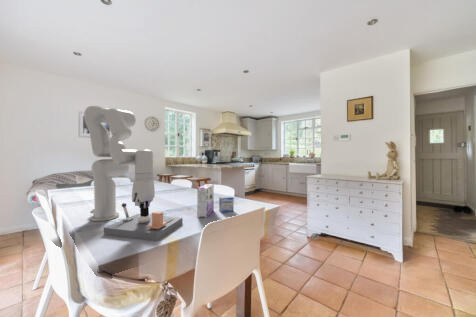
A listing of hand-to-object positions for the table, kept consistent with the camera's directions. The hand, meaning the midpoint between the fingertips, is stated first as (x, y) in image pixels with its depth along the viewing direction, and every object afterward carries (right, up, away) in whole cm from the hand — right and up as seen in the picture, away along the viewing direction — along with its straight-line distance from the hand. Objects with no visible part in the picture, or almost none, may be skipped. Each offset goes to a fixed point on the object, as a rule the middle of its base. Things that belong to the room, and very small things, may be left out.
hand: (144, 215), depth 90 cm
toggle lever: (-9, -2, +2) cm, 9 cm away
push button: (0, -2, 0) cm, 3 cm away
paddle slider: (+9, -3, -6) cm, 11 cm away
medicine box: (+36, -6, +29) cm, 47 cm away
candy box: (+25, -6, +23) cm, 34 cm away
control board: (+1, -6, 0) cm, 6 cm away
